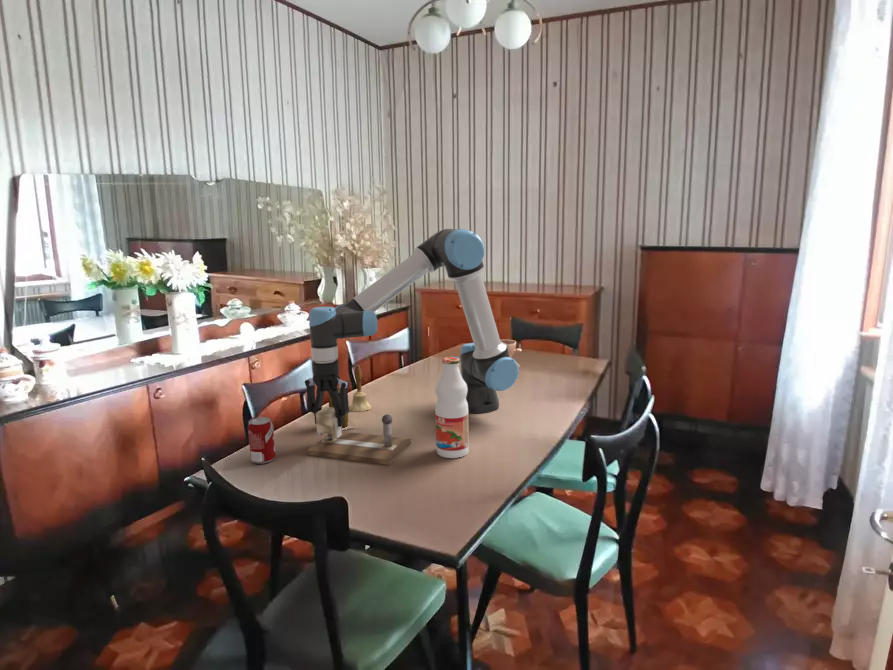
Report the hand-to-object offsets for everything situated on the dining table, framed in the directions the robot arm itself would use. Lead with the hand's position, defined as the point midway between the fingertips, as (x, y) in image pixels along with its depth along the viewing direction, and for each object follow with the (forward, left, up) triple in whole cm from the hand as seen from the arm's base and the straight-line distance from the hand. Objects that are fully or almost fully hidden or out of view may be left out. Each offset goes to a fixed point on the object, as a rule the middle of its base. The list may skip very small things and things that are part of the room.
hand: (329, 435), depth 176 cm
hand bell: (+7, -34, -4) cm, 35 cm away
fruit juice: (-37, -5, -3) cm, 37 cm away
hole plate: (-10, 0, -3) cm, 10 cm away
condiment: (+5, -15, -4) cm, 16 cm away
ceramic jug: (-31, -91, -4) cm, 96 cm away
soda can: (+13, +15, -3) cm, 20 cm away
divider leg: (0, 0, -1) cm, 1 cm away
